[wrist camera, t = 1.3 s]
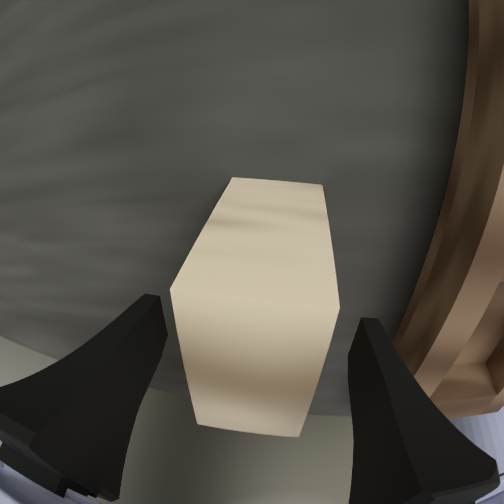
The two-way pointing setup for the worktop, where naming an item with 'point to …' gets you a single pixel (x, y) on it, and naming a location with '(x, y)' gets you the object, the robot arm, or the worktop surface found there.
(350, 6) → the worktop surface
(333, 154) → the worktop surface
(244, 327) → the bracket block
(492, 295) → the wooden compartment tray
